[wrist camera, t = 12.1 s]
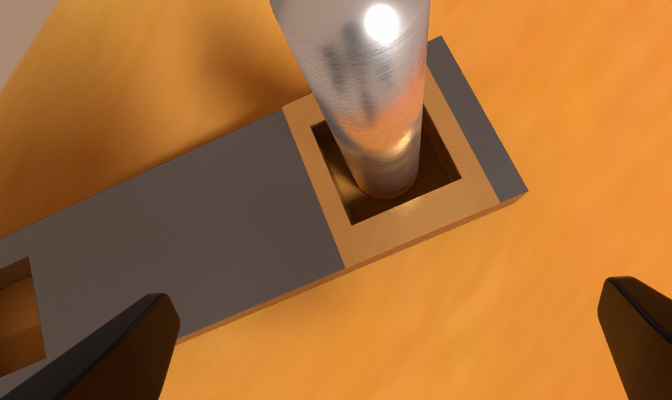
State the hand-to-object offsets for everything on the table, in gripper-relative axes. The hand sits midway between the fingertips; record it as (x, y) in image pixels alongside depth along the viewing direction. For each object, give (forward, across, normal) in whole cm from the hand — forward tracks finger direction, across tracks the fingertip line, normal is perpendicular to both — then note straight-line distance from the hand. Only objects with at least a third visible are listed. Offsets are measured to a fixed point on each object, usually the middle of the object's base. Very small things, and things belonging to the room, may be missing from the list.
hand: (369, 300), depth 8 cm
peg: (+14, 0, +4) cm, 14 cm away
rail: (+11, +11, +7) cm, 17 cm away
